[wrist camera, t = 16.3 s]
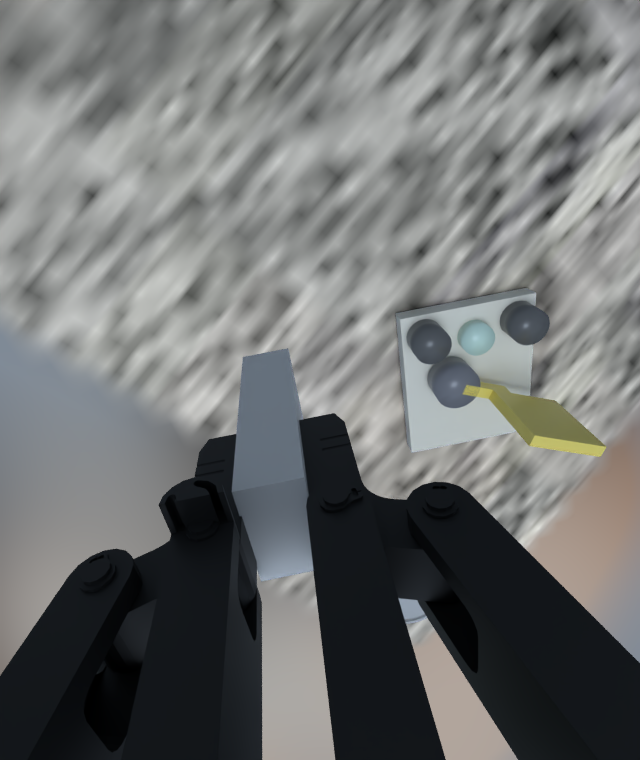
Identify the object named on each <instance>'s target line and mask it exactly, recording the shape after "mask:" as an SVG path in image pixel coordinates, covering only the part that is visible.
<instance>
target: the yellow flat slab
mask: <svg viewBox="0 0 640 760" xmlns="http://www.w3.org/2000/svg"><path fill="white" fill-rule="evenodd" d="M427 381H428V385H429V387H430V389H431V390H432V392H433V393H434V395H435V396H436V398H437V399H438V401H439V402H440V403H441V404H442V405H443V406H445V407H448V408H460V407H463V406H466V405H467V404H469V403H470V402H472V401H473V400H474V399H475V398H476V397H480V398H486V399H489V400H490V401H491V402H492V403H493V404H494V406H495V407H496V408H497V409H498V410H499V411H500V413H501V414H502V415H503V416H504V417H505V418H506V420H507V421H508V422H509V423H510V424H511V425H512V426H513V428H514V429H515V430H516V431H517V432H518V433H519V435H520V436H521V437H522V438H523V439H524V440H525V442H526V443H527V444H528V445H529V446H533V447H540V448H546V449H553V450H559V451H566V452H572V453H579V454H585V455H592V456H598V457H601V455H602V453H603V452H604V450H605V449H606V446H605V445H604V444H603V443H602V442H601V441H599V440H598V439H597V438H596V437H595V436H594V435H593V434H592V433H591V432H589V431H588V430H587V429H586V428H585V427H584V426H583V425H582V424H581V423H579V422H578V421H577V420H576V419H575V418H574V417H573V416H572V415H571V414H569V413H568V412H567V411H566V410H565V409H564V408H563V407H562V406H561V405H560V404H558V403H557V402H556V401H554V400H548V399H543V398H537V397H531V396H526V395H520V394H514V393H511V392H510V391H509V390H508V389H507V388H506V387H505V386H501V385H495V384H490V383H484V382H480V379H479V376H478V375H477V374H476V373H475V371H474V370H473V369H472V368H471V367H470V366H469V365H468V364H467V363H466V361H464V360H463V359H461V358H459V357H454V356H452V357H446V358H445V359H444V360H442V361H441V362H439V363H436V364H434V365H433V366H432V368H431V369H430V371H429V373H428V379H427Z"/></svg>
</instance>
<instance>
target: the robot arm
mask: <svg viewBox="0 0 640 760" xmlns="http://www.w3.org/2000/svg"><path fill="white" fill-rule="evenodd" d="M159 507H160V509H161V512H162V514H163V516H164V519H165V521H166V523H167V525H168V528H169V530H170V532H171V538H170V541H168V542H167V543H166V544H164V545H162V546H161V547H159V548H157V549H155V550H153V551H151V552H148V553H146V554H144V555H142V556H140V557H137V558H135V559H133V558H132V556H131V555H130V554H129V553H127V551H124V550H119V549H112V550H106V551H102V552H100V553H98V554H95V555H93V556H91V557H89V558H88V559H87V560H85V561H84V562H82V563H81V564H80V565H78V566H77V568H76V569H75V570H74V571H73V572H72V573H71V574H70V575H69V577H68V578H67V579H66V581H65V582H64V584H63V585H62V587H61V588H60V590H59V591H58V593H57V594H56V595H55V597H54V598H53V600H52V601H51V603H50V604H49V606H48V607H47V609H46V610H45V612H44V613H43V614H42V616H41V617H40V619H39V621H38V622H37V623H36V625H35V626H34V628H33V629H32V631H31V632H30V633H29V635H28V636H27V638H26V639H25V641H24V642H23V644H22V645H21V646H20V648H19V649H18V651H17V652H16V654H15V655H14V657H13V658H12V660H11V661H10V662H9V664H8V665H7V667H6V668H5V670H4V671H3V673H2V674H1V676H0V760H262V602H261V598H260V594H259V591H258V588H257V570H258V573H259V576H260V579H261V581H266V580H271V579H276V578H280V577H285V576H290V575H295V574H300V573H305V572H310V571H314V579H315V587H316V596H317V605H318V613H319V621H320V630H321V639H322V646H323V647H322V648H323V656H324V665H325V673H326V682H327V691H328V699H329V708H330V717H331V725H332V733H333V742H334V751H335V760H446V759H445V756H444V753H443V749H442V746H441V742H440V739H439V735H438V732H437V728H436V725H435V722H434V718H433V715H432V711H431V708H430V705H429V701H428V698H427V694H426V691H425V688H424V684H423V681H422V677H421V674H420V670H419V667H418V664H417V660H416V657H415V653H414V650H413V646H412V643H411V640H410V636H409V633H408V629H407V626H406V622H405V619H404V616H403V612H402V609H401V605H400V602H399V599H398V598H401V599H410V600H417V601H418V603H419V605H420V607H421V608H422V610H423V612H424V613H425V615H426V616H427V618H428V619H429V621H430V622H431V624H432V626H433V627H434V629H435V630H436V632H437V633H438V635H439V636H440V638H441V640H442V641H443V643H444V644H445V646H446V647H447V649H448V651H449V652H450V654H451V655H452V657H453V658H454V660H455V662H456V663H457V664H458V666H459V668H460V669H461V671H462V673H463V674H464V675H465V677H466V679H467V680H468V682H469V683H470V685H471V686H472V688H473V690H474V691H475V693H476V694H477V696H478V697H479V699H480V700H481V702H482V703H483V705H484V707H485V708H486V710H487V711H488V713H489V715H490V716H491V718H492V719H493V721H494V723H495V724H496V725H497V727H498V729H499V730H500V732H501V733H502V735H503V737H504V738H505V740H506V741H507V743H508V744H509V746H510V748H511V749H512V751H513V752H514V754H515V755H516V757H517V759H518V760H640V663H639V662H638V661H637V660H636V659H635V658H634V657H633V656H632V655H631V654H630V653H629V652H628V651H627V650H626V649H625V648H624V647H623V646H622V645H621V644H620V643H619V642H618V641H617V640H616V639H615V638H614V637H613V636H612V635H611V634H610V633H609V632H608V631H607V630H605V628H604V627H603V626H602V625H601V624H600V623H599V622H598V621H597V620H596V619H595V618H594V617H593V616H592V615H591V614H590V613H589V612H588V611H587V610H586V609H585V608H584V607H583V606H582V605H581V604H580V603H579V602H578V601H577V600H576V599H575V598H574V597H573V596H572V595H571V594H570V593H569V592H568V591H567V590H566V589H565V588H564V587H562V585H561V584H560V583H559V582H558V581H557V580H556V579H555V578H554V577H553V576H552V575H551V574H550V573H549V572H548V571H547V570H546V569H545V568H544V567H543V566H542V565H541V564H540V563H539V562H538V561H537V560H536V559H535V558H534V557H533V556H532V555H531V554H530V553H529V552H528V551H527V550H526V549H525V548H524V547H523V546H522V545H521V544H520V543H519V542H518V541H517V540H516V539H515V538H514V537H513V536H512V535H511V534H510V533H509V532H508V531H507V530H506V529H505V528H504V527H503V526H502V525H501V524H500V523H499V522H498V521H497V520H496V519H495V518H494V517H493V516H492V515H491V514H490V513H489V512H488V511H487V510H486V509H485V508H484V507H483V506H482V505H481V504H480V503H479V502H478V501H477V500H476V499H475V498H474V497H473V496H472V495H471V494H470V493H468V492H467V491H465V490H464V489H463V488H461V487H460V486H457V485H454V484H450V483H446V482H433V483H428V484H424V485H422V486H420V487H418V488H417V489H415V490H413V491H412V493H411V494H410V496H409V497H408V498H407V500H398V499H388V498H383V497H380V496H377V495H375V494H373V493H372V492H370V491H369V490H368V489H367V488H366V487H365V486H364V485H363V483H362V481H361V477H360V474H359V471H358V467H357V464H356V460H355V457H354V453H353V450H352V446H351V443H350V439H349V436H348V433H347V429H346V426H345V422H344V421H343V420H342V419H340V418H339V417H338V416H337V415H336V414H334V413H333V414H328V415H323V416H318V417H313V418H308V419H303V416H302V411H301V406H300V402H299V397H298V392H297V388H296V383H295V378H294V374H293V369H292V364H291V360H290V355H289V350H288V349H282V350H277V351H272V352H267V353H262V354H257V355H252V356H247V357H243V363H242V375H241V387H240V399H239V410H238V422H237V434H234V435H229V436H224V437H219V438H214V439H209V440H208V442H207V443H206V444H205V445H204V447H203V448H202V449H201V451H200V452H199V458H198V462H197V468H196V472H195V477H194V478H191V479H188V480H185V481H182V482H181V483H179V484H177V485H175V486H174V487H172V488H171V489H170V490H169V491H168V492H167V493H166V494H165V495H164V496H163V497H162V499H161V501H160V503H159Z"/></svg>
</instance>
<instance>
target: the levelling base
mask: <svg viewBox="0 0 640 760" xmlns="http://www.w3.org/2000/svg"><path fill="white" fill-rule="evenodd" d="M535 303H536V293H535V292H534V291H532V290H530V289H528V288H522V289H517V290H512V291H507V292H502V293H497V294H492V295H486V296H481V297H476V298H471V299H466V300H461V301H456V302H450V303H445V304H440V305H435V306H430V307H425V308H420V309H414V310H409V311H404V312H399V313H396V324H397V335H398V346H399V357H400V368H401V379H402V390H403V401H404V412H405V423H406V434H407V444H408V446H409V448H410V450H411V452H412V453H413V452H418V451H423V450H428V449H433V448H438V447H443V446H448V445H453V444H458V443H463V442H468V441H473V440H478V439H482V438H487V437H492V436H497V435H502V434H507V433H512V432H517V431H516V430H515V429H514V428H513V426H512V425H511V424H510V423H509V422H508V421H507V420H506V418H505V417H504V416H503V415H502V414H501V413H500V411H499V410H498V409H497V408H496V407H495V406H494V404H493V403H492V402H491V401H490V400H489V399H486V398H480V397H476V398H475V399H474V400H473V401H472V402H470V403H469V404H467V405H466V406H463V407H460V408H448V407H445V406H443V405H442V404H441V403H440V402H439V401H438V399H437V398H436V396H435V395H434V393H433V392H432V390H431V389H430V387H429V385H428V381H427V379H428V373H429V371H430V369H431V368H432V366H433V365H434V364H436V363H439V362H441V361H442V360H444V359H445V358H446V357H452V356H454V357H459V358H461V359H463V360H464V361H466V363H467V364H468V365H469V366H470V367H471V368H472V369H473V370H474V371H475V373H476V374H477V375H478V376H479V379H480V382H484V383H490V384H495V385H501V386H505V387H506V388H507V389H508V390H509V391H510V392H511V393H514V394H520V395H526V396H530V387H531V370H532V353H533V344H535V343H537V342H538V341H540V340H541V339H542V338H543V337H544V336H545V335H546V333H547V331H548V329H549V324H550V322H549V317H548V315H547V314H546V313H545V312H543V311H542V310H540V309H539V308H537V307H535Z"/></svg>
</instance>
